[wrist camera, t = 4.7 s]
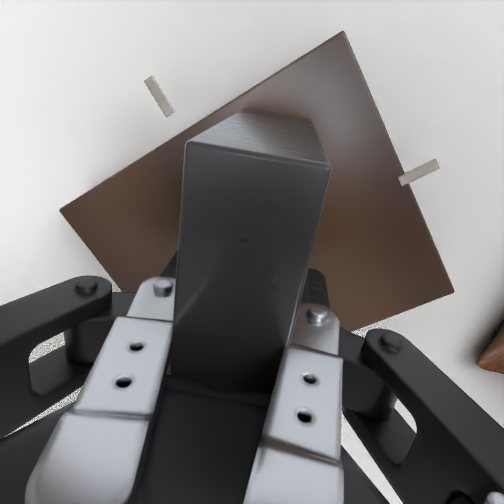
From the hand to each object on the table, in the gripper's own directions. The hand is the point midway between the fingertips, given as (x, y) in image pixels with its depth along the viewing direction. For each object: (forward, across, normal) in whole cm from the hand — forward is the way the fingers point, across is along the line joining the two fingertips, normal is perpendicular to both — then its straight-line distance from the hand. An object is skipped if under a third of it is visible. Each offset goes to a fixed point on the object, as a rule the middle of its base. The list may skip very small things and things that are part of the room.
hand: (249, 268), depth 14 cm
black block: (+2, 0, 0) cm, 2 cm away
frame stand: (+4, 0, 0) cm, 4 cm away
